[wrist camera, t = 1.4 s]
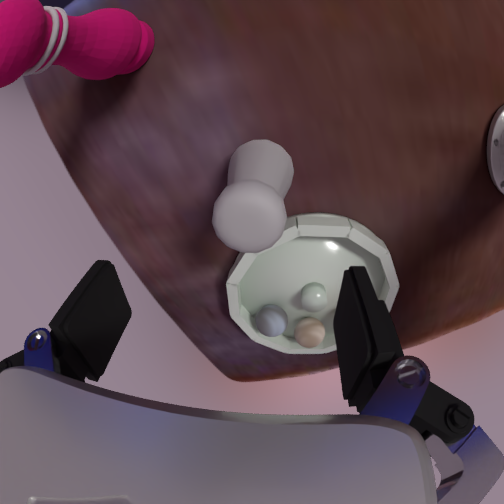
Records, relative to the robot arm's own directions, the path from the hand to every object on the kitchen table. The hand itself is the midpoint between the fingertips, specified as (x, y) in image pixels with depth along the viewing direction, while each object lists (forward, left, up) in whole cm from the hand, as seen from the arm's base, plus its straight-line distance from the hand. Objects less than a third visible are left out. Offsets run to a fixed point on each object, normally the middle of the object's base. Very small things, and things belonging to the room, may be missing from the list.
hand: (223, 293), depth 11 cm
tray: (-6, +15, -18) cm, 24 cm away
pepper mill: (+13, -14, -19) cm, 26 cm away
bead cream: (-6, +20, -17) cm, 27 cm away
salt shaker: (0, 0, -19) cm, 18 cm away
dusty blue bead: (-3, +18, -17) cm, 25 cm away
